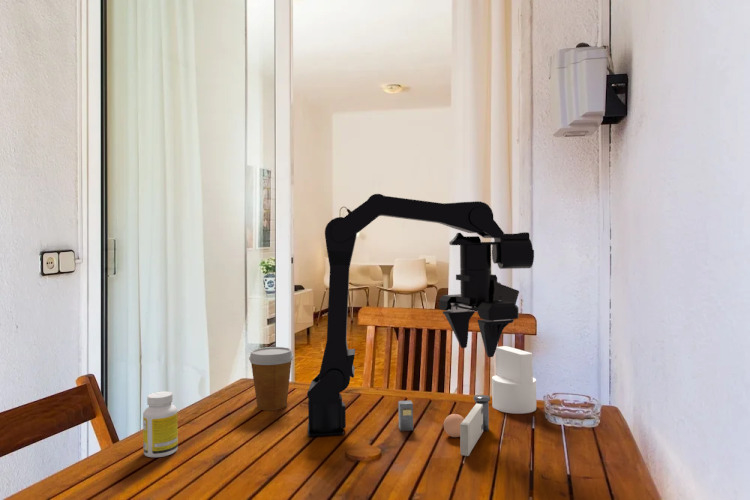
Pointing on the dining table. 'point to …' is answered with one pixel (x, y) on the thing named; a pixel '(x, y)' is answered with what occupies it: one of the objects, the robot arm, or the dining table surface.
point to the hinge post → (484, 409)
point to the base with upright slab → (514, 381)
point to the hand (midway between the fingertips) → (476, 352)
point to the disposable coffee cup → (271, 376)
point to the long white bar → (471, 429)
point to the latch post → (405, 415)
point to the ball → (453, 425)
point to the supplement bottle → (160, 425)
